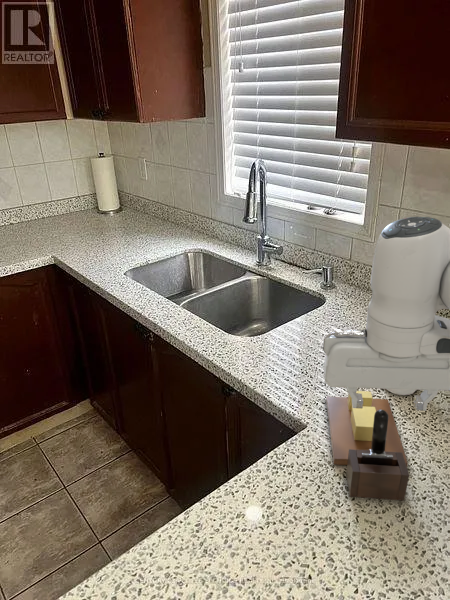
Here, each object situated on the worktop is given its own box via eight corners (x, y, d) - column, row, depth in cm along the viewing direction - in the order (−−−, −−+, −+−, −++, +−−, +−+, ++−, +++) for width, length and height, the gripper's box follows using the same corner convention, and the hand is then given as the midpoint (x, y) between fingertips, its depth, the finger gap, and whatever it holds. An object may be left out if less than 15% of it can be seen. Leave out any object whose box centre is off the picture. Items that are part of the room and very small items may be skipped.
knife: (387, 485, 78) (396, 407, 74) (390, 494, 76) (399, 415, 72) (358, 483, 79) (365, 406, 74) (360, 492, 77) (367, 413, 72)
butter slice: (369, 404, 95) (370, 391, 94) (370, 411, 93) (372, 398, 92) (347, 403, 96) (348, 390, 94) (348, 410, 94) (350, 397, 92)
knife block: (397, 477, 80) (402, 452, 77) (404, 500, 75) (409, 475, 73) (346, 473, 81) (348, 448, 78) (349, 496, 76) (352, 471, 74)
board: (387, 404, 97) (387, 399, 96) (406, 469, 81) (407, 463, 80) (326, 401, 99) (326, 396, 98) (333, 464, 83) (334, 458, 82)
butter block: (373, 420, 91) (375, 406, 89) (378, 441, 85) (380, 427, 84) (350, 419, 91) (351, 405, 90) (354, 440, 86) (356, 426, 84)
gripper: (325, 341, 63) (321, 417, 69) (481, 343, 60) (462, 423, 66) (322, 319, 68) (319, 392, 74) (464, 321, 65) (449, 396, 72)
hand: (387, 407), depth 70 cm, fingers open, 8 cm apart
